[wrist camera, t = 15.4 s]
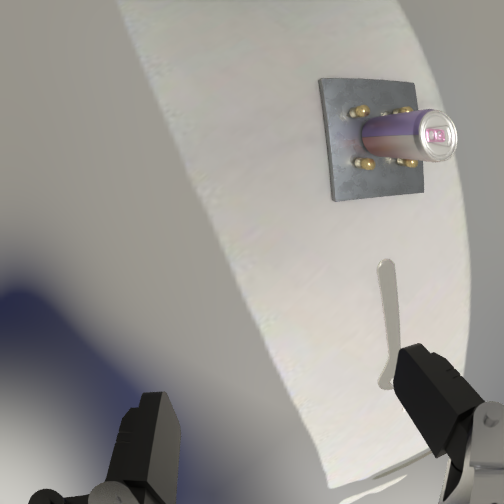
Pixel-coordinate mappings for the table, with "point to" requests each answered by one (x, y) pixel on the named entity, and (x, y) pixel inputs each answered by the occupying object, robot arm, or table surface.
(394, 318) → the wrench
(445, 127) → the beverage can
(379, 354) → the table surface
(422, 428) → the robot arm
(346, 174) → the chassis plate
